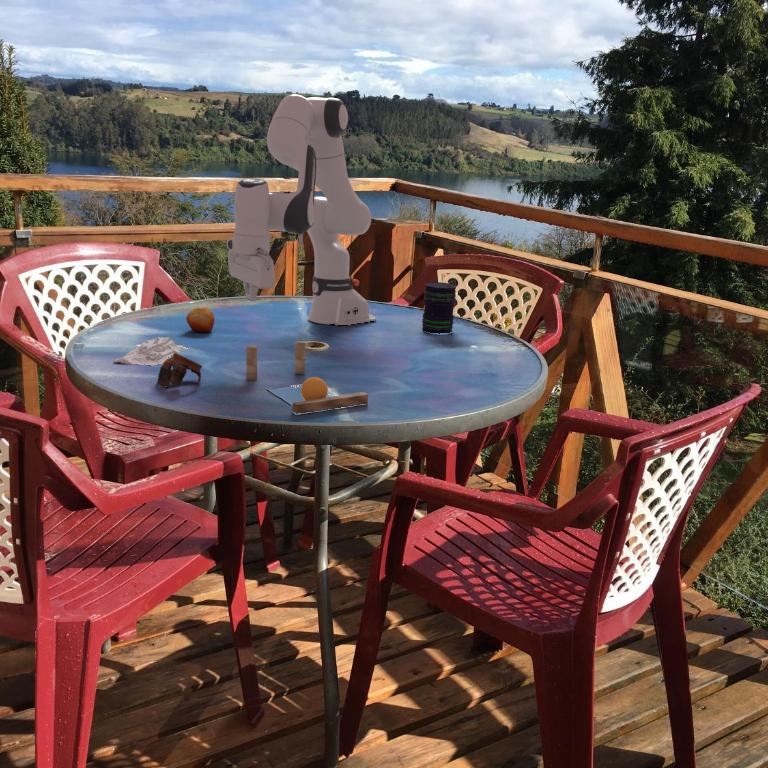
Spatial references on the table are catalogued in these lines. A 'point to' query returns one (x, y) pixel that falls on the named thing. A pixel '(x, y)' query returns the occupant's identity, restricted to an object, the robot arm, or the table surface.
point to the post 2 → (300, 357)
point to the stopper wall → (330, 402)
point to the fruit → (200, 319)
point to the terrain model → (152, 352)
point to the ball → (314, 388)
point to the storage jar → (438, 307)
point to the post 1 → (251, 362)
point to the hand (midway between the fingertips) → (251, 300)
